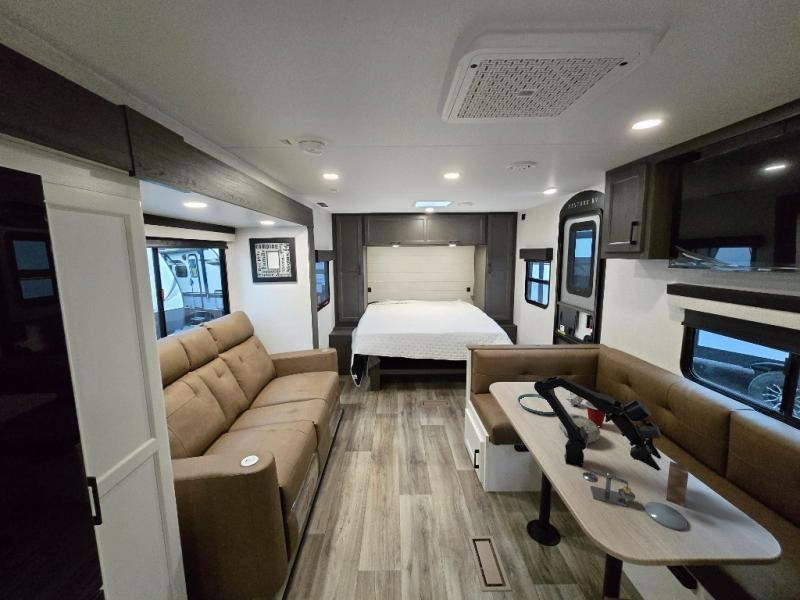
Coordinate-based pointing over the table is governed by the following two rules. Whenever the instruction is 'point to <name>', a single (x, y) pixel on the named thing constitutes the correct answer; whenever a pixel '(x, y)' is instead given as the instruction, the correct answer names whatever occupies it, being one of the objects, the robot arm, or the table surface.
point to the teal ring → (532, 409)
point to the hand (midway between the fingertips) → (659, 464)
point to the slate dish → (666, 515)
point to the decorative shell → (588, 426)
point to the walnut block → (677, 484)
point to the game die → (574, 399)
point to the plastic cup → (594, 414)
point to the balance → (608, 489)
